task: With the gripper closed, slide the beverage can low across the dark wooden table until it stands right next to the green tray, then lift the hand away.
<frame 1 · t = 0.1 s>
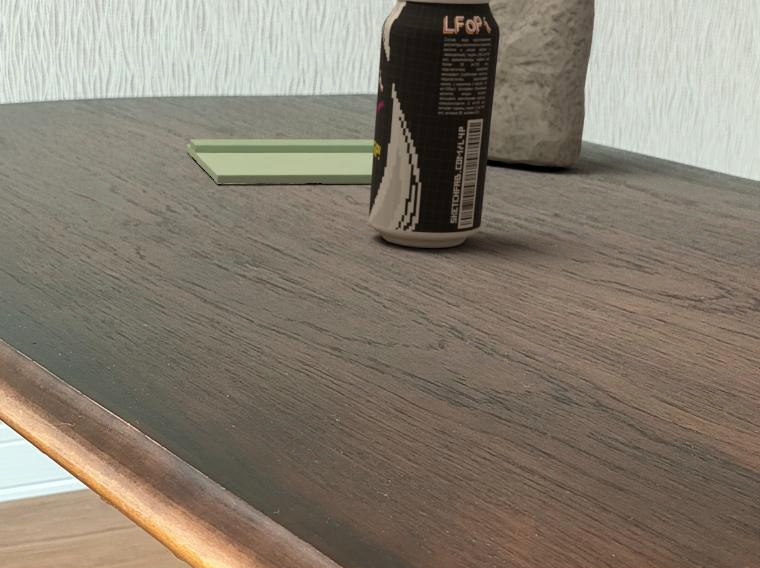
beverage can: (422, 243, 75), on the table
decorative stone: (500, 163, 99), on the table
green tray: (321, 167, 95), on the table
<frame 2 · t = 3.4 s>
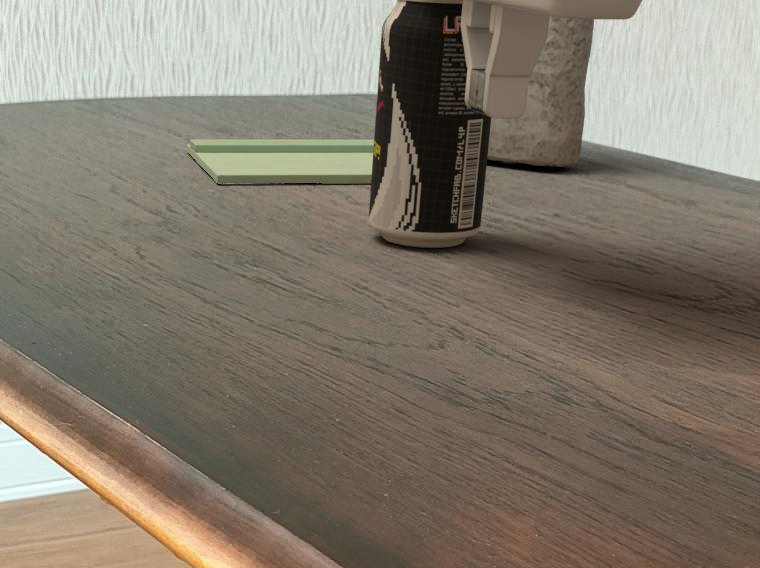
hand: (493, 114, 64), 7 cm above the table, tool pointing down, fingers closed
nothing on the table moved.
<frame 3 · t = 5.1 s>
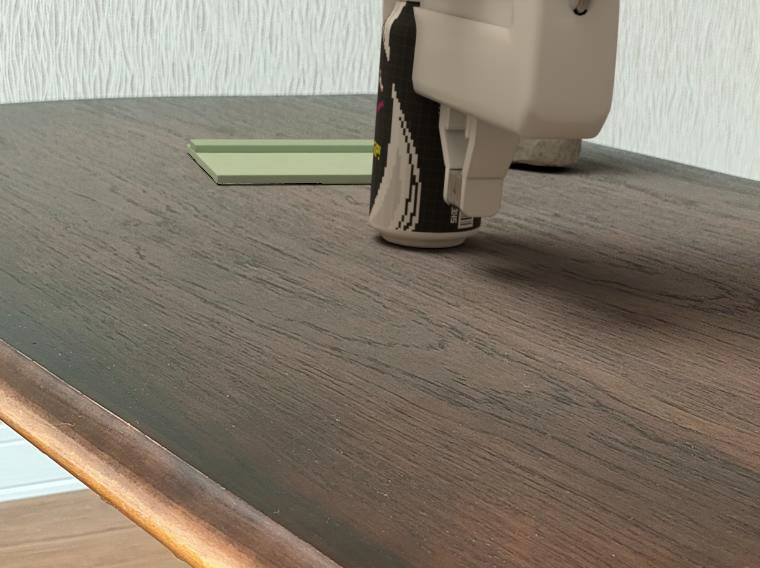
hand: (470, 211, 68), 3 cm above the table, tool pointing down, fingers closed
nothing on the table moved.
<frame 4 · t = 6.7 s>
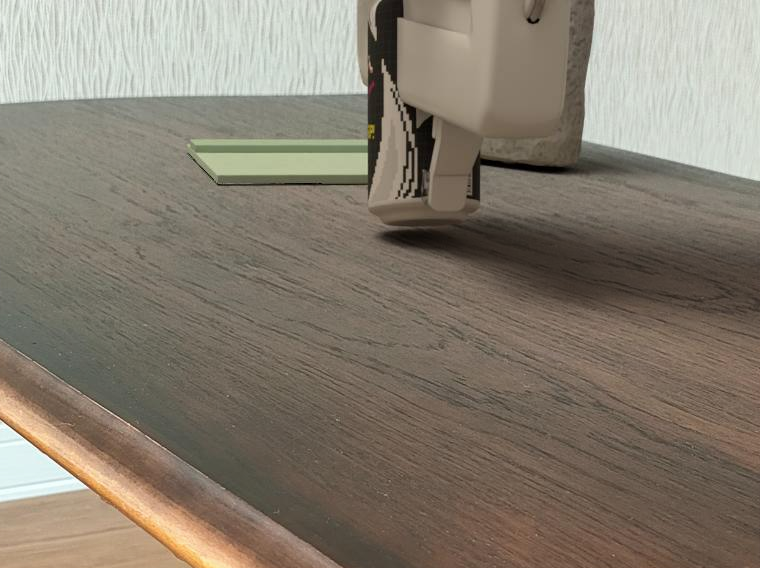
hand: (437, 206, 72), 2 cm above the table, tool pointing down, fingers closed, pressing on beverage can
beverage can: (423, 226, 75), point 1 cm above the table, touching gripper
everything else where it was.
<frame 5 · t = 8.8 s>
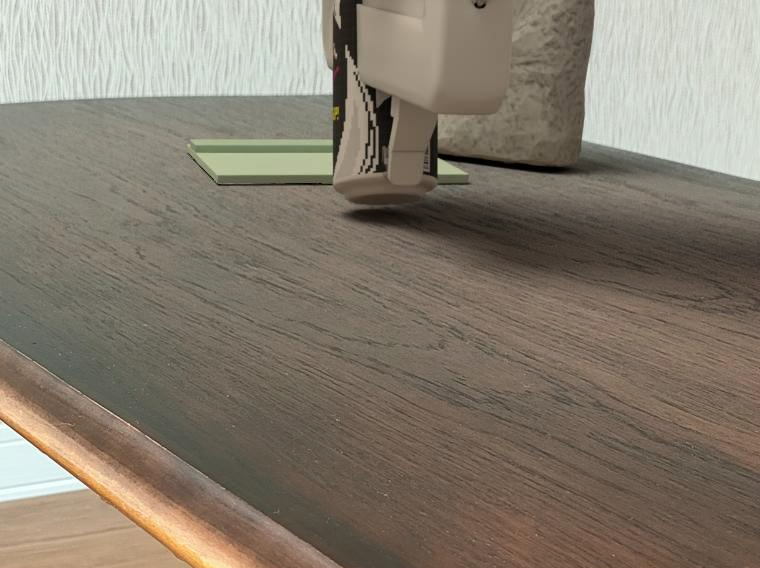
hand: (396, 180, 77), 2 cm above the table, tool pointing down, fingers closed, pressing on beverage can
beverage can: (384, 203, 80), point 1 cm above the table, touching gripper
everything else where it was.
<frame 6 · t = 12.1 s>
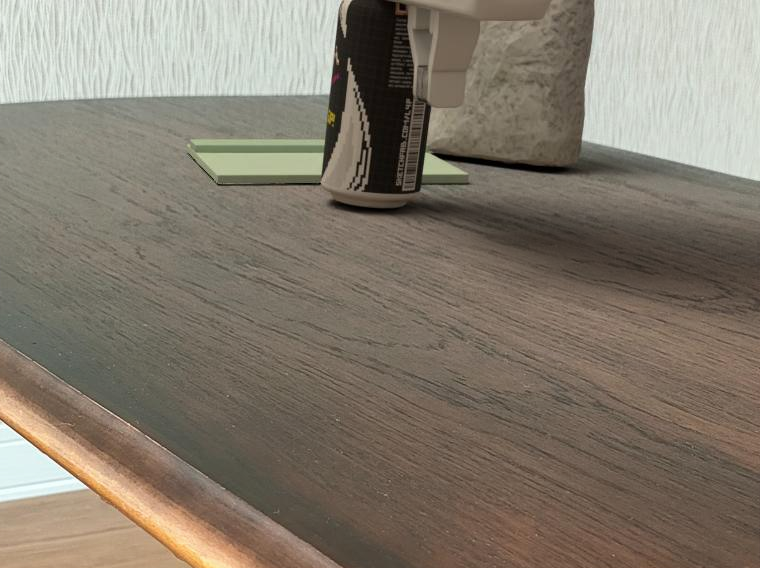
hand: (437, 104, 73), 7 cm above the table, tool pointing down, fingers closed
beverage can: (368, 205, 83), on the table
everything else where it was.
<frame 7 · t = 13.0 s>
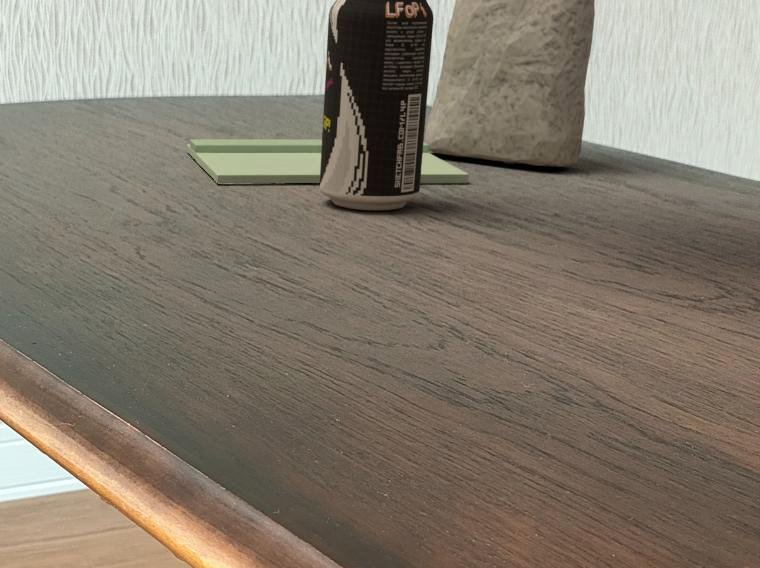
nothing on the table moved.
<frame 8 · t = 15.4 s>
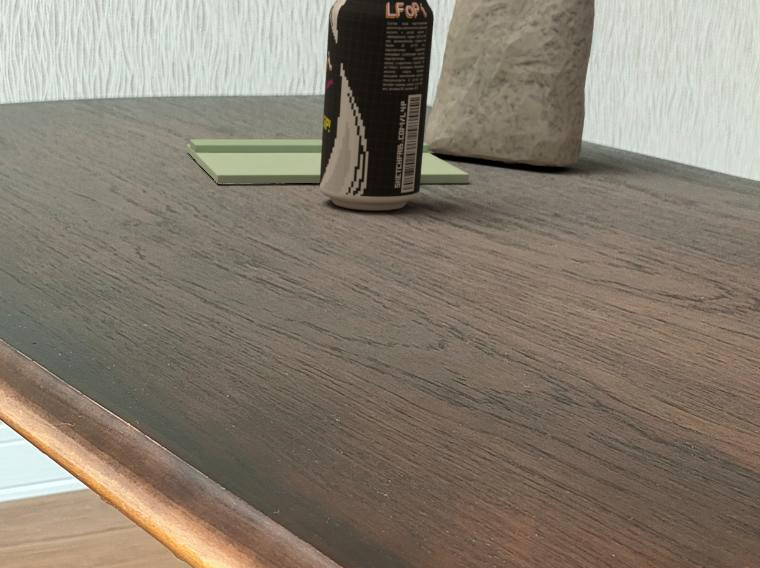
nothing on the table moved.
at the end: beverage can inside the target area on the table beside the green tray (1.8 cm from its centre), on the table; beverage can tilted 0°; beverage can moved 9.5 cm from its start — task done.
